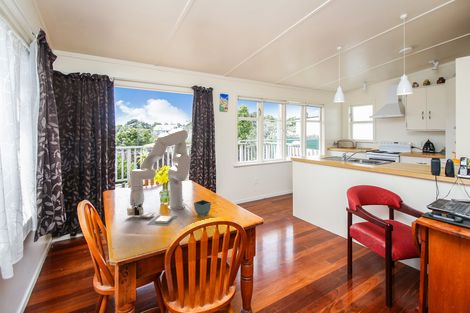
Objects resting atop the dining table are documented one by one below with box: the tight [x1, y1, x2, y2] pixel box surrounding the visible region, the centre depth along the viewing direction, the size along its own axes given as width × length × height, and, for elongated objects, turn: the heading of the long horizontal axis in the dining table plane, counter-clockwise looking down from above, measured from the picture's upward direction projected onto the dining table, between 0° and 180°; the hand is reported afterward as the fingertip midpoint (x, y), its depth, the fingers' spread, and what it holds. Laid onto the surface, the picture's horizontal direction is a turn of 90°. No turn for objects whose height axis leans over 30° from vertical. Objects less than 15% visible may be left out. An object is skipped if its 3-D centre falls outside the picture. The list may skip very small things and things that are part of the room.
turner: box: [126, 206, 156, 218], centre depth 153 cm, size 17×7×5 cm, turn 83°
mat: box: [146, 214, 178, 227], centre depth 147 cm, size 16×14×1 cm
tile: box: [155, 215, 173, 223], centre depth 147 cm, size 8×1×8 cm
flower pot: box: [193, 199, 212, 217], centre depth 158 cm, size 9×9×9 cm
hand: (138, 214), depth 153 cm, fingers closed on turner, 2 cm apart
